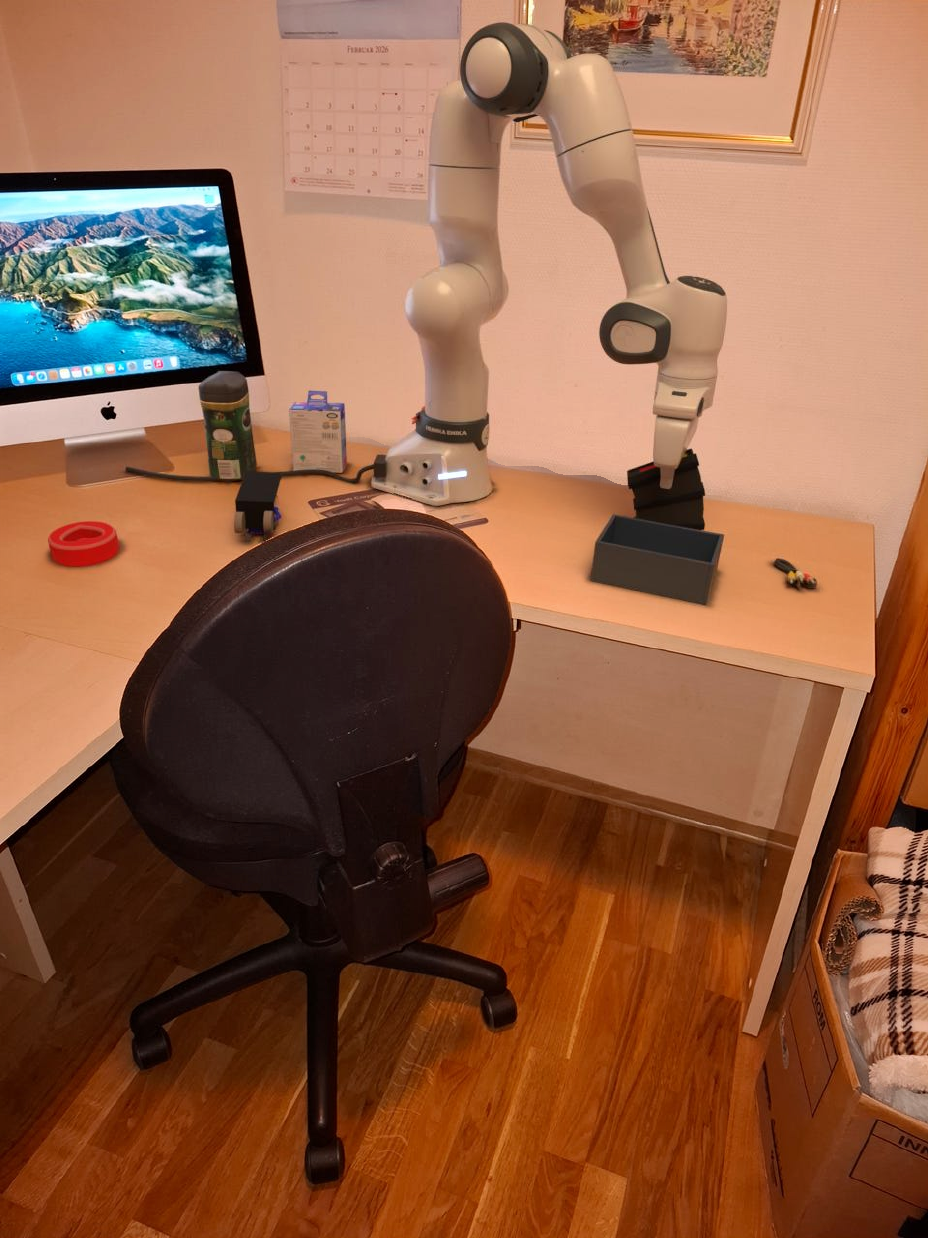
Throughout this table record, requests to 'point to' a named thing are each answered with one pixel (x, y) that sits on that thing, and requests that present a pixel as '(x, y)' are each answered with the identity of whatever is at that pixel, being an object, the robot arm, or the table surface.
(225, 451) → the coffee jar
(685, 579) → the box
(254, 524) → the toy wheeled vehicle
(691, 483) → the magazine
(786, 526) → the table surface
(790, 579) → the composite cable
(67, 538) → the decorative ornament
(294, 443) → the ink cartridge box
